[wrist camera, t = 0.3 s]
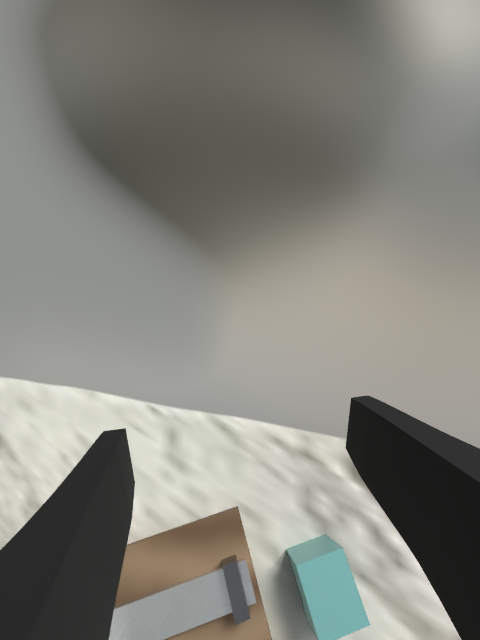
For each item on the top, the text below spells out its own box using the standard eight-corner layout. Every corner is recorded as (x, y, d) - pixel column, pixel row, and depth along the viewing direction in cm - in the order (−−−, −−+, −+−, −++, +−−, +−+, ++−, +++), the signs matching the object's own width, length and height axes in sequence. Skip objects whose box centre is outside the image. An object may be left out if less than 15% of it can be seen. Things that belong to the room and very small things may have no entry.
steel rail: (257, 604, 30) (259, 615, 28) (25, 696, 27) (8, 716, 25) (243, 551, 32) (244, 557, 30) (23, 632, 29) (8, 645, 27)
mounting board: (273, 646, 30) (275, 653, 29) (28, 749, 27) (20, 761, 26) (237, 506, 34) (237, 507, 33) (24, 580, 31) (17, 585, 30)
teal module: (347, 598, 31) (370, 625, 26) (305, 615, 31) (320, 646, 26) (325, 534, 34) (342, 547, 28) (286, 549, 33) (296, 565, 28)
